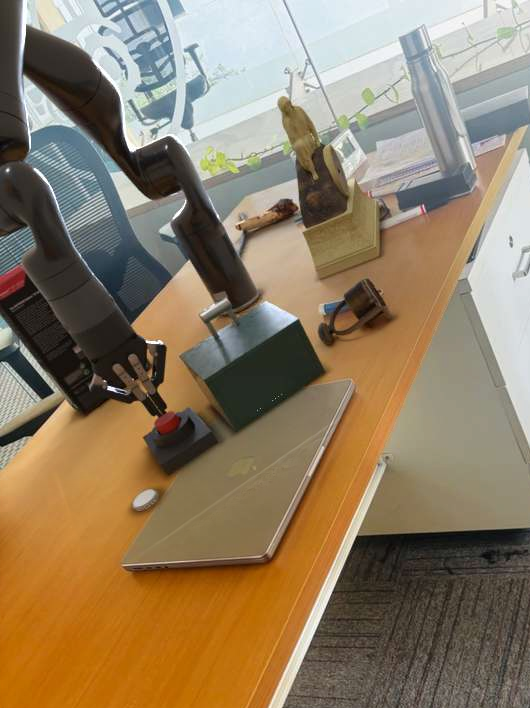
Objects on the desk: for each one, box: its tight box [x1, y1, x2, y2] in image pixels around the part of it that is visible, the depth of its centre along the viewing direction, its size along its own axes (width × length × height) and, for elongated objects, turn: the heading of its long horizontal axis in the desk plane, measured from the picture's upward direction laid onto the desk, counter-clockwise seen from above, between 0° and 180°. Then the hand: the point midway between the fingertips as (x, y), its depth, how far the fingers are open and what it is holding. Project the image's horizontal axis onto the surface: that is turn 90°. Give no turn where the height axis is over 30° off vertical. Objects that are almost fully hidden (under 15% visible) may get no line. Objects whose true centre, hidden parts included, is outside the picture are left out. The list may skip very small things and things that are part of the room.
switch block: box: [142, 406, 219, 476], centre depth 107 cm, size 12×9×4 cm
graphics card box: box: [0, 262, 152, 415], centre depth 128 cm, size 17×7×27 cm, turn 135°
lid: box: [178, 297, 302, 384], centre depth 104 cm, size 14×17×5 cm
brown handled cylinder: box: [317, 277, 392, 345], centre depth 113 cm, size 7×13×10 cm
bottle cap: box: [131, 488, 160, 512], centre depth 99 cm, size 4×4×1 cm
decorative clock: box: [276, 95, 381, 280], centre depth 137 cm, size 28×13×30 cm, turn 179°
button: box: [153, 410, 181, 434], centre depth 105 cm, size 4×4×2 cm
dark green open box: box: [183, 322, 326, 432], centre depth 108 cm, size 13×17×9 cm
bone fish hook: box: [234, 197, 300, 231], centre depth 180 cm, size 9×5×18 cm
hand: (161, 414), depth 104 cm, fingers closed
